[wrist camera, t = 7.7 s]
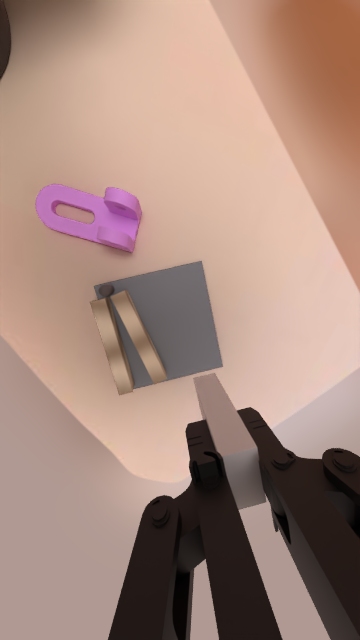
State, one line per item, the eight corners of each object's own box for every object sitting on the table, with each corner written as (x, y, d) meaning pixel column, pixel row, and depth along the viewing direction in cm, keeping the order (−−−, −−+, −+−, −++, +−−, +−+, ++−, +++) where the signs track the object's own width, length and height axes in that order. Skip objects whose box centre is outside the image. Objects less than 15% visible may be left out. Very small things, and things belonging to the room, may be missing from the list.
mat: (94, 285, 32) (93, 285, 32) (201, 261, 33) (201, 260, 32) (126, 389, 35) (126, 391, 35) (222, 365, 36) (222, 366, 36)
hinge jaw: (114, 295, 32) (110, 296, 29) (126, 289, 32) (124, 290, 29) (154, 376, 35) (154, 384, 32) (166, 371, 35) (166, 378, 32)
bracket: (141, 212, 31) (136, 194, 24) (132, 252, 32) (125, 246, 25) (44, 182, 29) (9, 153, 22) (38, 225, 30) (2, 210, 23)
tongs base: (92, 288, 32) (84, 289, 28) (112, 283, 32) (107, 284, 29) (122, 385, 35) (118, 396, 32) (141, 381, 35) (139, 391, 32)
